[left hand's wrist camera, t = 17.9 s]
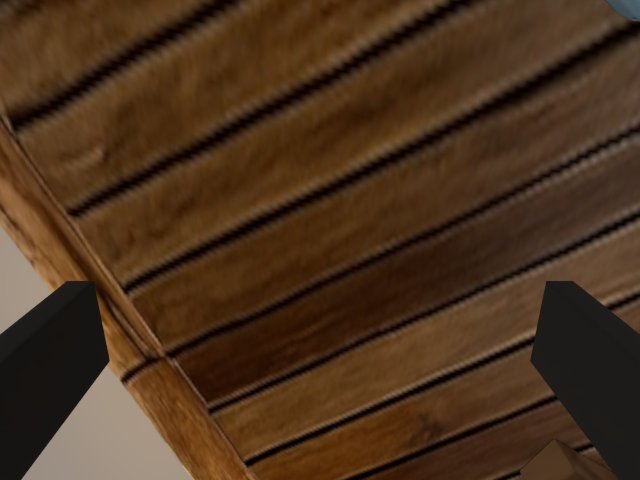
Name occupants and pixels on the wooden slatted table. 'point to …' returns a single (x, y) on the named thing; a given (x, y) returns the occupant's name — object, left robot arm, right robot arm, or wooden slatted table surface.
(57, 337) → the left robot arm
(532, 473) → the bar
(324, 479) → the wooden slatted table surface
